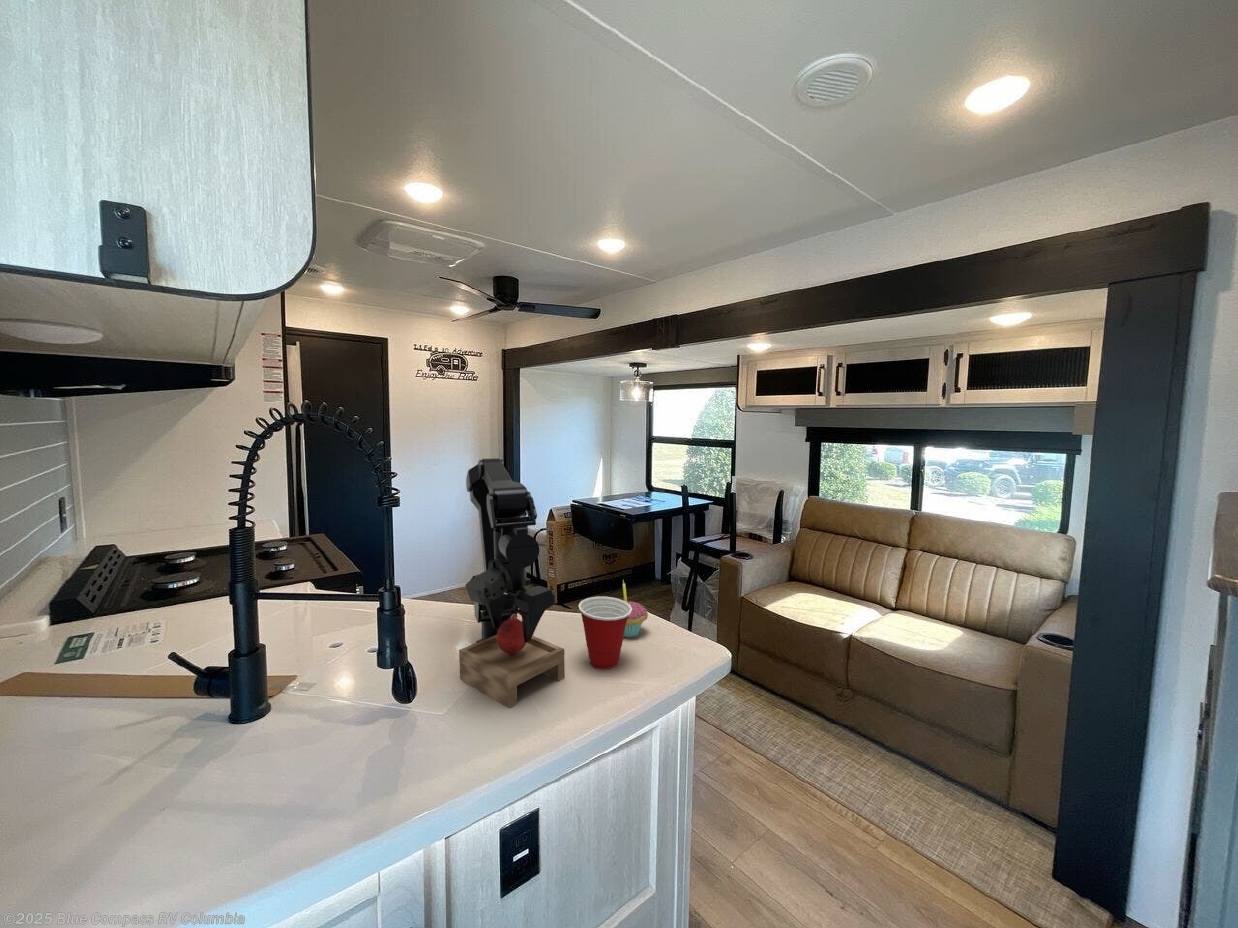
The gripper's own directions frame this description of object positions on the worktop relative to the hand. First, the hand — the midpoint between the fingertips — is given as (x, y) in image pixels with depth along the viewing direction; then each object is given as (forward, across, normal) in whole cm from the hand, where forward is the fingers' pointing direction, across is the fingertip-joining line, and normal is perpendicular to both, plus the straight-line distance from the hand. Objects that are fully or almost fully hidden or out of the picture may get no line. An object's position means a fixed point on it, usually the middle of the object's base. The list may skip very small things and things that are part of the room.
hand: (511, 634), depth 93 cm
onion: (+4, 0, 0) cm, 4 cm away
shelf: (+9, 0, 0) cm, 9 cm away
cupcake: (+9, +4, +30) cm, 32 cm away
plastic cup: (+9, +10, +16) cm, 21 cm away
